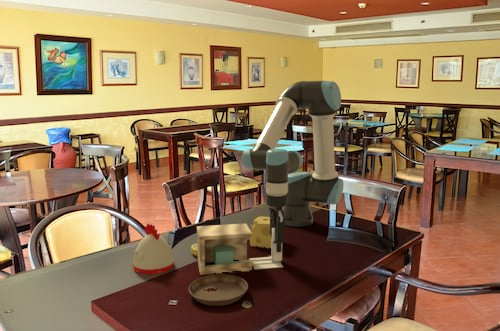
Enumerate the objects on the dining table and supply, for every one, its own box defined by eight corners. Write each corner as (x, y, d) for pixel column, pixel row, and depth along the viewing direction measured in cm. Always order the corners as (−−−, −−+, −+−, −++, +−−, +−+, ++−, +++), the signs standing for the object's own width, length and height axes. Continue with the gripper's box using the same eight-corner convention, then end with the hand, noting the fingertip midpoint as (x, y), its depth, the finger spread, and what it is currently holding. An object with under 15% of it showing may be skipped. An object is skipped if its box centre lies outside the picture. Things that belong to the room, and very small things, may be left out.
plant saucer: (199, 314, 125) (198, 304, 125) (182, 289, 141) (181, 279, 141) (257, 302, 132) (257, 292, 132) (234, 279, 148) (234, 270, 148)
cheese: (249, 246, 179) (249, 221, 177) (259, 238, 188) (259, 214, 187) (274, 249, 175) (274, 224, 173) (283, 241, 185) (283, 217, 183)
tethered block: (279, 257, 165) (279, 226, 163) (283, 264, 159) (283, 231, 157) (214, 262, 161) (213, 230, 159) (216, 269, 155) (215, 235, 153)
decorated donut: (223, 256, 168) (223, 246, 168) (195, 260, 164) (195, 250, 164) (214, 247, 178) (214, 238, 177) (188, 251, 174) (187, 241, 173)
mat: (275, 256, 167) (275, 256, 167) (282, 267, 157) (282, 266, 157) (249, 258, 165) (249, 258, 165) (254, 269, 155) (254, 268, 155)
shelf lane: (246, 258, 166) (245, 223, 164) (252, 270, 154) (252, 233, 152) (197, 261, 162) (196, 226, 160) (200, 274, 151) (199, 236, 149)
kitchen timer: (159, 256, 169) (158, 217, 166) (181, 266, 159) (180, 224, 156) (125, 266, 159) (123, 225, 156) (147, 277, 149) (145, 233, 147)
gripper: (261, 189, 165) (261, 250, 169) (271, 199, 149) (271, 267, 153) (281, 188, 166) (281, 249, 170) (294, 198, 151) (293, 265, 154)
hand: (276, 257), depth 162 cm, fingers closed on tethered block, 3 cm apart
